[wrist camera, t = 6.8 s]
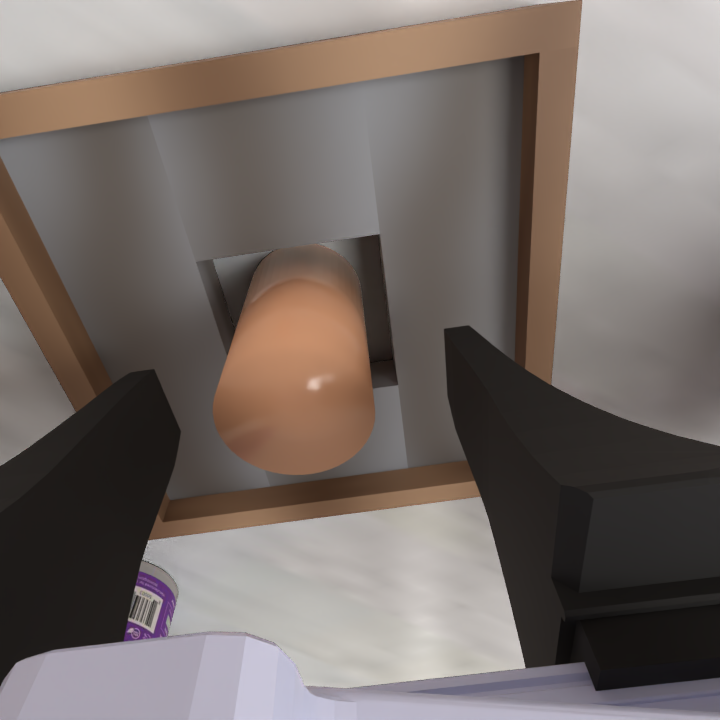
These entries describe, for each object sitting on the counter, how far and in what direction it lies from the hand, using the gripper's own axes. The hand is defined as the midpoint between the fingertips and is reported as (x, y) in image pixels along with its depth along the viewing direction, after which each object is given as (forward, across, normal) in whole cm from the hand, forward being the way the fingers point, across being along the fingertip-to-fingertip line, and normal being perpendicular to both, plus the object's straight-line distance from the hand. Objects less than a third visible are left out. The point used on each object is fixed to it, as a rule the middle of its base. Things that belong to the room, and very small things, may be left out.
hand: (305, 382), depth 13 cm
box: (+4, 0, 0) cm, 4 cm away
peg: (+4, 0, 0) cm, 4 cm away
